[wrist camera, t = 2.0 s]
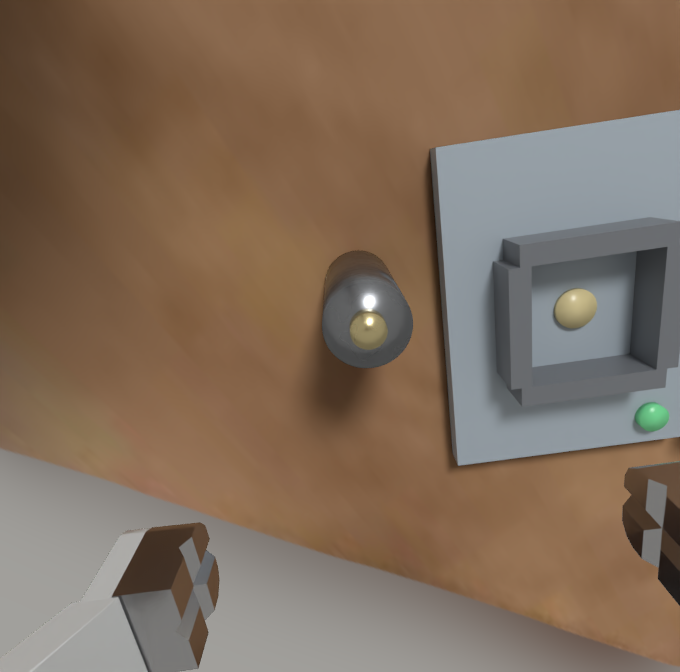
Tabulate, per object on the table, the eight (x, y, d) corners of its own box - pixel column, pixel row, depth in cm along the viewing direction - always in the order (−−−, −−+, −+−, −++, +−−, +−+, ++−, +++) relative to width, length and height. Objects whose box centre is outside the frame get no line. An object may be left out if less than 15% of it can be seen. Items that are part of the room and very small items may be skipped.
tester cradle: (430, 149, 26) (446, 144, 22) (702, 107, 25) (766, 95, 22) (452, 452, 32) (468, 489, 29) (669, 424, 32) (714, 457, 28)
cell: (320, 255, 28) (314, 293, 19) (386, 245, 28) (411, 279, 19) (330, 318, 29) (329, 381, 20) (393, 309, 29) (419, 368, 20)
